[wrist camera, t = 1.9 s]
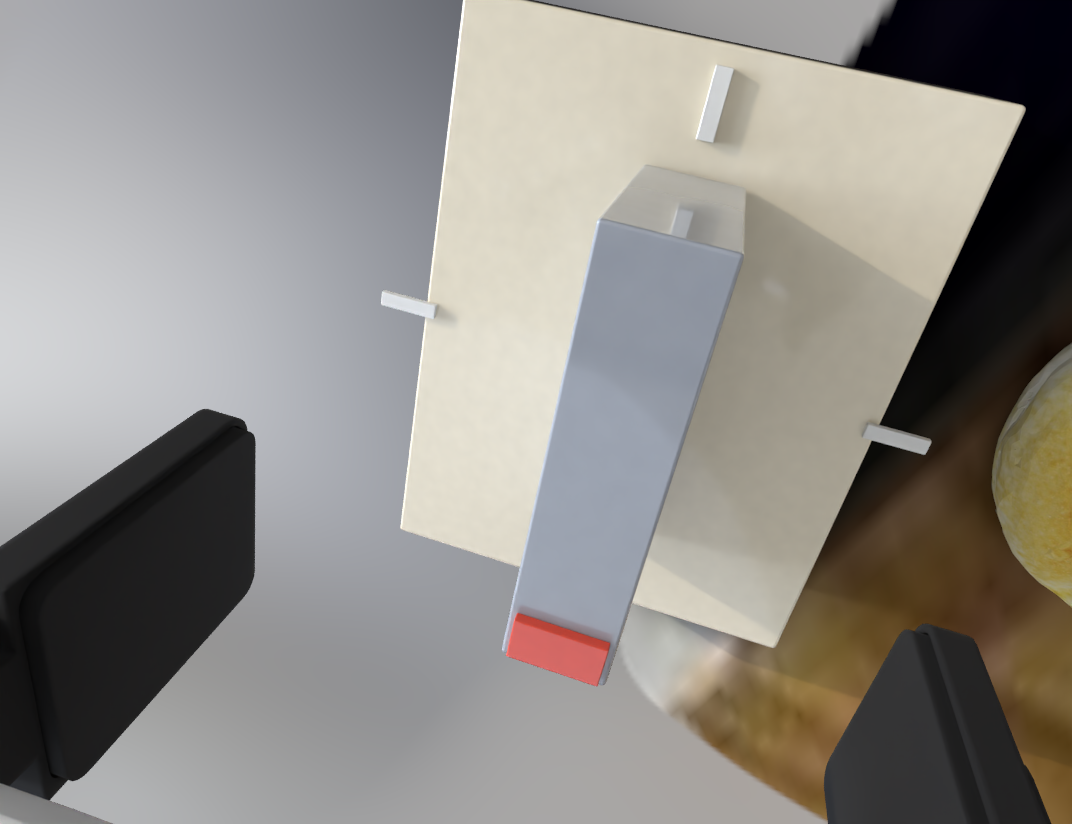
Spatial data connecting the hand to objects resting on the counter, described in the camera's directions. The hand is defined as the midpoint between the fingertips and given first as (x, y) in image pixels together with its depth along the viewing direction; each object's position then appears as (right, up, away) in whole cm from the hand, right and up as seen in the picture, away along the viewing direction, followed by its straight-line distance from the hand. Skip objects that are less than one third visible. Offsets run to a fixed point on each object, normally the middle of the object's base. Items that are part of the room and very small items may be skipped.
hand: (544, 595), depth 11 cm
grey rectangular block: (+2, +4, +7) cm, 8 cm away
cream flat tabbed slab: (+3, +5, +10) cm, 11 cm away
